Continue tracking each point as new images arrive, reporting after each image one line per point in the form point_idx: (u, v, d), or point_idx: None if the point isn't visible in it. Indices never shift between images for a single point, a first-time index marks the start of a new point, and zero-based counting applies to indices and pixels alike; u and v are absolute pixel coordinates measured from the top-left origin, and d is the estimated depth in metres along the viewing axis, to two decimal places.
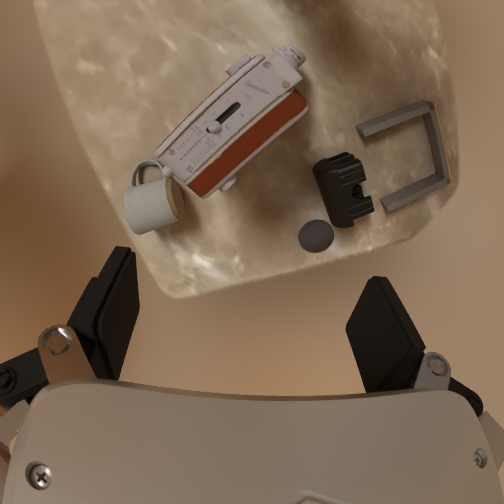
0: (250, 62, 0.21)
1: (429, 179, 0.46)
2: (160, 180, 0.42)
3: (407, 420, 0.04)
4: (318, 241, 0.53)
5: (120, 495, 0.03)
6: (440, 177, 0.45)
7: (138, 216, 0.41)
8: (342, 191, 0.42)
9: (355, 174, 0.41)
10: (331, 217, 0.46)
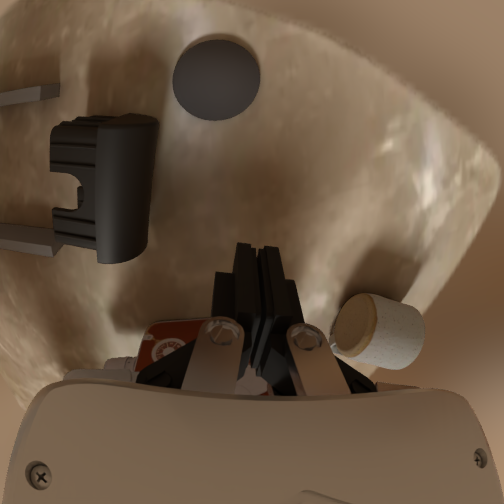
0: None
1: None
2: None
3: (407, 420, 0.04)
4: (218, 67, 0.18)
5: (120, 495, 0.03)
6: None
7: (397, 361, 0.27)
8: (99, 220, 0.18)
9: (69, 230, 0.19)
10: (147, 150, 0.18)
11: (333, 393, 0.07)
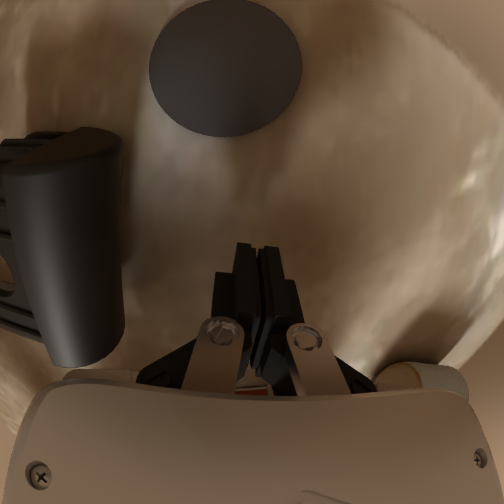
0: None
1: None
2: None
3: (407, 420, 0.04)
4: (228, 44, 0.10)
5: (120, 495, 0.03)
6: None
7: None
8: (40, 319, 0.10)
9: (9, 319, 0.11)
10: (99, 204, 0.09)
11: (333, 393, 0.07)
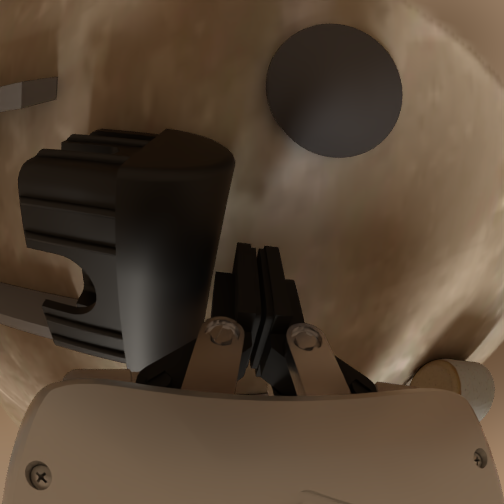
0: None
1: None
2: None
3: (407, 420, 0.04)
4: (344, 71, 0.11)
5: (120, 495, 0.03)
6: None
7: None
8: (130, 339, 0.10)
9: (75, 337, 0.11)
10: (218, 216, 0.10)
11: (333, 393, 0.07)
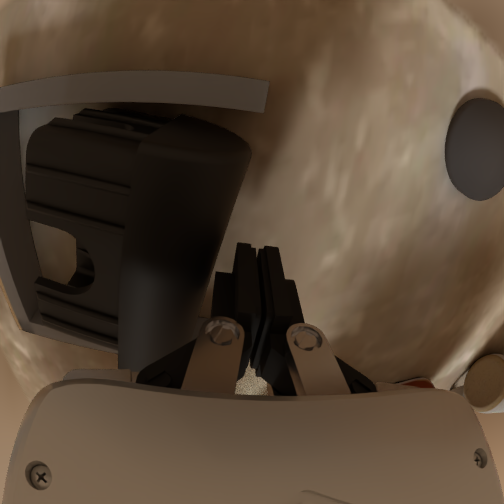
0: None
1: None
2: None
3: (407, 420, 0.04)
4: (492, 138, 0.12)
5: (120, 495, 0.03)
6: None
7: None
8: (126, 324, 0.10)
9: (66, 319, 0.10)
10: (230, 205, 0.10)
11: (333, 393, 0.07)
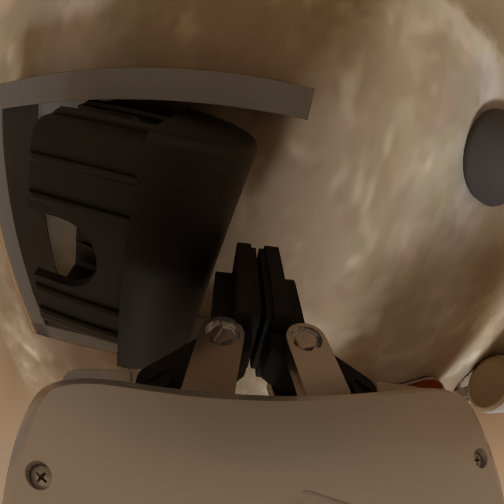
0: None
1: None
2: None
3: (407, 420, 0.04)
4: None
5: (120, 495, 0.03)
6: None
7: None
8: (126, 317, 0.10)
9: (65, 311, 0.10)
10: (235, 197, 0.10)
11: (333, 393, 0.07)
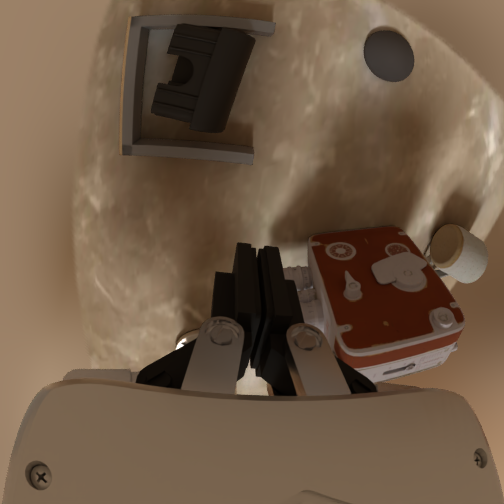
0: None
1: (168, 27, 0.23)
2: (437, 267, 0.39)
3: (407, 420, 0.04)
4: (392, 48, 0.25)
5: (120, 495, 0.03)
6: (146, 27, 0.22)
7: (474, 272, 0.35)
8: (203, 92, 0.23)
9: (168, 101, 0.23)
10: (247, 54, 0.22)
11: (333, 393, 0.07)
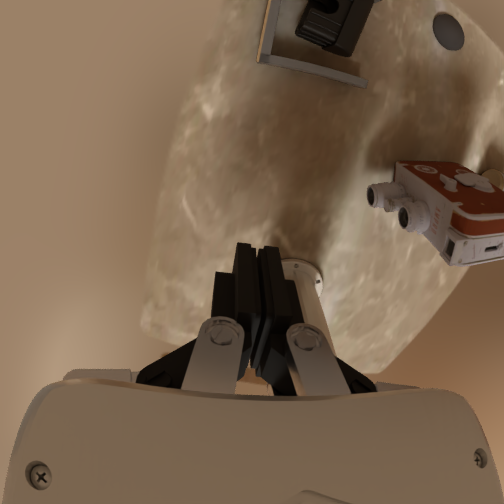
0: None
1: None
2: None
3: (407, 420, 0.04)
4: (451, 27, 0.27)
5: (120, 495, 0.03)
6: None
7: None
8: (347, 22, 0.25)
9: (319, 22, 0.25)
10: (371, 7, 0.25)
11: (333, 393, 0.07)
